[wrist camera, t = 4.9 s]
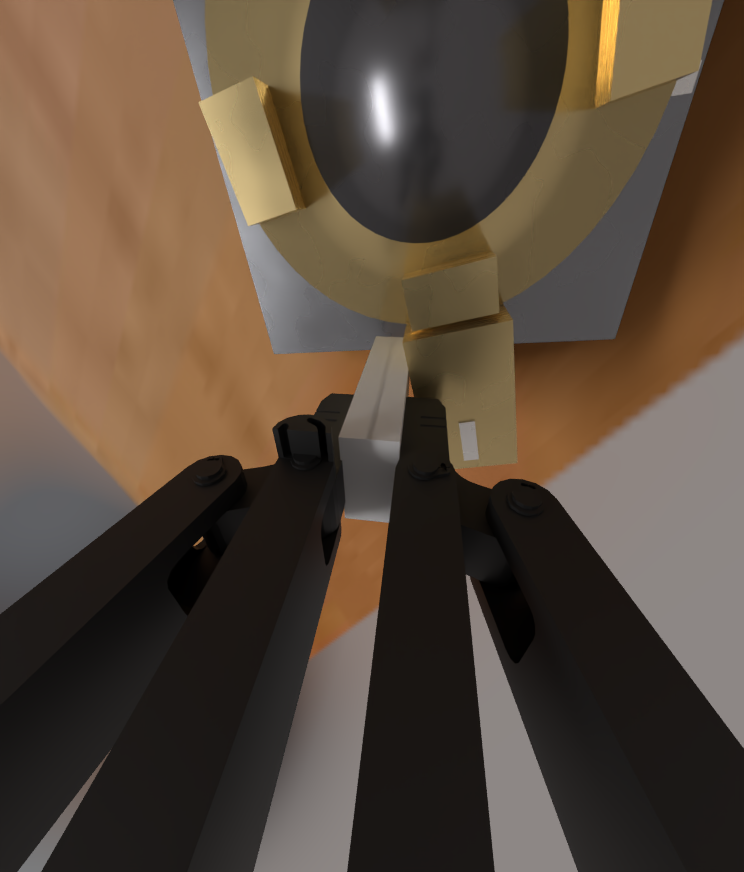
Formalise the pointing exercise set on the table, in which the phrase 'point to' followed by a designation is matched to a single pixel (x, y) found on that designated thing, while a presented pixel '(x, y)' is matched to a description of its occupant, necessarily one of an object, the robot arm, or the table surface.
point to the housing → (530, 310)
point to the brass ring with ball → (440, 159)
